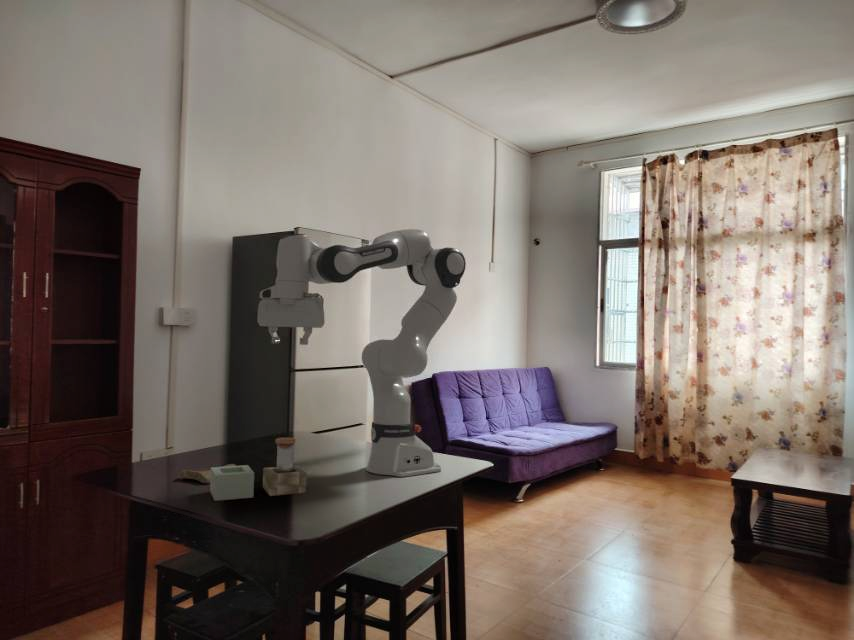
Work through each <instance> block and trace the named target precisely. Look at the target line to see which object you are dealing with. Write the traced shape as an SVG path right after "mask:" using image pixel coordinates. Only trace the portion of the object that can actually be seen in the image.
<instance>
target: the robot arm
mask: <svg viewBox="0 0 854 640" xmlns="http://www.w3.org/2000/svg"><path fill="white" fill-rule="evenodd" d="M431 243H432V242H431V239H430V237H429V234H427V233H426V232H425V231H423V230H422V229H418V228H417V229H414V228H411V229H410V228H409V229H400V230H394V231H393V230H392V231H389V232H386V233H383V234H381V235H379V236H376V237H375V238H374V239H373V241H372V243H371V244H368V245H364V246H359V247H350V246H347V245H343V244H335V245H331V246H328V247H325V248H324V247H321V246H320V245H318V244H317V243H316V242H314V241H313V240H312V239H311V238H310V237H309V236H308V235H307V234H305V233H293V234H287V235H285V236H282V237H281V238H280V239H279V242H278V246H277V250H276V251H277V252H276V253H277V254H276V264H275V265H276V269H277V271H276V272H277V274H276V275H277V276H276V278H275V283H274V284H275V285H272V286H270V287H268V288H265V289H263V290H260V291H259V298H260V299H261V300H260V301H259V303H258V306H257V308H258V309H257V323H258V325H259V326H260V327H268V333H269V334H270V336H271V344H280V343H281V337H280V336H278V333H277V331H279V330H278V328H279V327H281V328H282V327H283V328H303V332H304V333H303V336H302V337H299V345H303V346H306V345H307V346H308V344H309V338H310V337H311V335H312V334H313V329H322V328H323V327H324V325H325V310H324V309H325V308H324V302H325V301H324V297H323V296H322V295H320V293H318V292H314V293H311V292H309V286H310V282H311V283H313V284H317V285H322V284H323V285H325V284H332V283H333V284H334V283H335V284H342V283H345V282H348V281H349V280H352V278H353V277H354V276H355V275H356V274H357V273H360V272H361V271H364V270H368V269H372V268H375V267H378V268H380V269H382V270H390V269H391V270H392V269H399V268H403V267H406V271H407V274H408V277H409V278H410V281H412V282H413V283H415V284H416V285H419V286H424V287H425V288H424V290H423V293H422V294H421V296H420V297H418V299H417V300H416V301H415V303H414V304H413V305H412V306H411V308H410V309H408V311H407V312H406V313H405V315H404V316H403V317H402V319H401V323H400V324H401V325H400V326H401V329H400V331H399V334H398V335H397V336H396V337H394V338H393V339H377V340H374V341H372V342H369V343H368V344H366V346H364V348H363V349H362V353H361V363H362V365H363V366H364V368H365V369H366V371H367V373H368V377H369V380H370V385H371V390H372V395H373V398H372V399H373V408H372V409H373V412H372V413H373V415H372V417H373V418H372V419H373V421H372V422H371V428H370V438H371V439H370V440H371V446H370V454H369V458H368V462H367V466H366V468H365V469H366V471H367V472H368V473H373V474H376V475H385V476H395V477H410V476H418V475H424V474H430V473H431V474H432V473H437V472H442V466H441V465H440V464H438V463H436V462H435V459H434V458H435V457H434V452H433V450H432V448H431V447H430V446H429V445H428V444H426V443H425V442H424V441H423V440H422V439H420V438H419V437H418V436H417V435H416V433H420V432H421V431H422V427H421V426H420V425H419V424H413V423H412V422H411V402H412V401H411V396H410V394H409V393H408V390H406V387H405V385H404V381H403V379H407V378H412V377H418V376H419V375H421V374H422V373H423V372H424V371H425V370H426V367H427V365H428V353H427V350H428V347H429V345H430V344H431V341H432V340H433V338H434V337H435V335H436V334H437V332H439V330H440V329H441V327H442V326H443V325H444V324H445V322H446V320H447V319H448V318H449V316H450V315H451V313H452V311H453V309H454V307H455V305H456V303H457V300H458V299H457V298H458V296H457V294H456V291H455V290H454V288H456V287H457V286H459V285H460V282H461V279H462V278H463V276H464V273H465V271H466V259H465V258H466V257H465V255H464V254H463V253H462V252H461V251H460V250H459V249H457V248H453V247H443V248H437V249H436V248H435V249H434V248H433V247H432V244H431Z"/></svg>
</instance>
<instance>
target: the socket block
mask: <svg viewBox="0 0 854 640" xmlns="http://www.w3.org/2000/svg"><path fill="white" fill-rule="evenodd" d="M210 470H211V481H210V485H209V486H210V487H209V489H210V490H209V491H210V492H209V493H210V495H211V496H212V498H213V501H215V502H216V501H218V502H219V501H225V500H226V501H228V500H238V499H248V498H251V499H252V498H254V494H255V493H254V492H255V491H254V488H255V486H254V485H255V484H254V483H255V472H254V471H253V470H252V468H251V467H250V466H249V465H248V464H246V465H245V464H244V465H242V464H241V465H235V466H227V467H223V466H215V467H210Z"/></svg>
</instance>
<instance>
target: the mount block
mask: <svg viewBox="0 0 854 640" xmlns="http://www.w3.org/2000/svg"><path fill="white" fill-rule="evenodd" d="M262 470H263V472H262V488H263V489H264V491H265V492H266V493H267V494H268V495H269V496H270V497H272V496H282V495H294V494H295V495H296V494H305V493H306V491H307V472H306V471H305V470H304V469H302V468H301V467H300V466H299V465H293V472H288V473H277V466H273V467H272V466H271V467H263V469H262Z"/></svg>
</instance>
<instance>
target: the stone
mask: <svg viewBox="0 0 854 640" xmlns="http://www.w3.org/2000/svg"><path fill="white" fill-rule="evenodd" d="M227 466H236V464H235V463H230V464H226V465H222V467H227ZM186 479H187V480H189V479H190V480H194V481H199V482H200V483H202V484H210V481H211V469H209V470H201V471H200V470H199V471H197V470H190V469H189V470H188V469H184V470H182V471H181V472H180V473H179V480H186Z"/></svg>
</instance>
